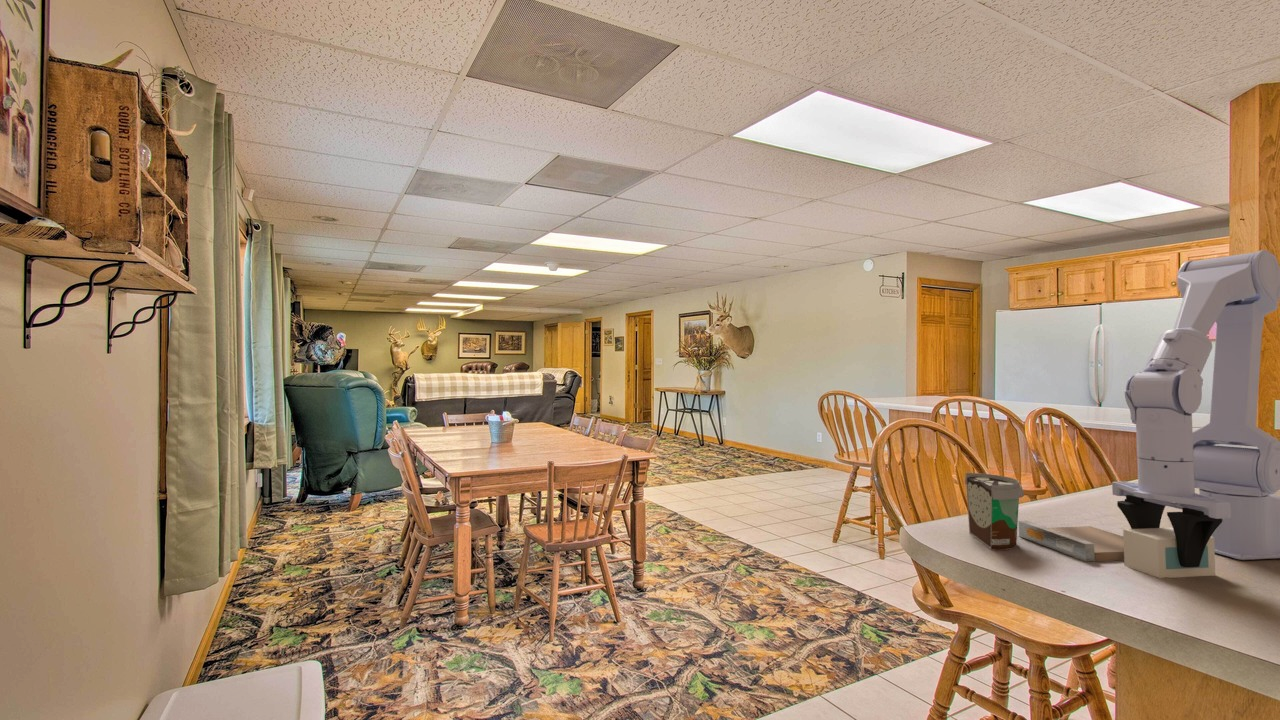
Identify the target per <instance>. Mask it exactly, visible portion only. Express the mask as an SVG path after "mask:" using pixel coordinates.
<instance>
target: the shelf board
mask: <svg viewBox="0 0 1280 720" xmlns="http://www.w3.org/2000/svg"><path fill="white" fill-rule="evenodd" d="M1049 528H1050V529H1053V530H1056V531H1059V532H1062V533H1065V534H1068V535H1070V536H1073V537H1076V538H1079V539H1082V540H1085V541H1088V542H1091V543H1094V553H1095V561H1094V562H1108V561H1124V538H1123V535H1120V534H1117V533H1113V532H1111V531H1110V532H1109V531H1107V530H1103V529H1100V528H1097V527H1093V526H1091V525H1086V526H1065V527H1064V526H1063V527H1062V526H1060V527H1059V526H1058V527H1049Z"/></svg>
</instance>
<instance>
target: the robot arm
mask: <svg viewBox="0 0 1280 720" xmlns="http://www.w3.org/2000/svg"><path fill="white" fill-rule="evenodd" d="M1176 286H1177V289H1178V291H1179V294H1180V296H1181V298H1182V301H1181V304H1180V308H1179V311H1178V313H1177V316H1176V320H1175V322H1174V327H1173V329H1168V330H1166V331H1164V332H1162V333H1161V334H1160V335H1159V337H1158V339H1157V341H1156V344H1155V346H1154V347H1153V349H1152V352H1151V353H1150V356H1149V358H1148V360H1147V362H1146V363H1145V366H1144V368H1143V370H1142V371H1139V372H1136V373H1135V374H1134V375H1131V376H1130V377H1129V379H1128V380H1127V382H1126V385H1125V386H1126V387H1125V391H1124V399H1125V402H1126V405H1127V406H1128V409H1129V411H1130V420H1131V423H1132V424H1134V425H1135V430H1136V431H1135V435H1136V457H1137V458H1136V460H1137V462H1136V463H1137V483H1135V482H1128V481H1112V482H1111V483H1112V484H1111V487H1112V488H1111V489H1112V495H1113V496H1116V497H1125V498H1124V500H1118V501H1117V503H1116V505H1117V507H1118V508H1119V510H1120V511H1121V512H1122V514H1123V516H1124V517H1125V520H1127V522H1128V525H1129V526H1130V529H1146V528H1161V520H1162V516H1163V514H1164V511H1165V508H1166V507H1169V508H1173V509H1177V510H1178V509H1179V510H1182V511H1167V512H1166V515H1167V517H1168V518H1167V519H1168V520H1169V522H1170V524H1171V528H1172V527H1173V529H1174V533H1175V537H1176V542H1177V553H1178V559H1179V563H1180V566H1183V567H1199V565H1200V562H1201V559H1202V556H1203V552H1204V550H1205V547H1206V545H1207V543H1208V541H1209V539H1210V537H1214V549H1215V554H1219V555H1222V556H1226V557H1229V558H1233V559H1235V560H1242V561H1245V560H1265V559H1266V560H1267V559H1268V560H1269V559H1280V496H1278V495H1277V494H1276V493H1277V492H1279V491H1280V440H1278V439H1277V438H1276V437H1275V436H1273V435H1272V434H1270V433H1267V432H1266V431H1264V430H1262V429H1261V428H1260V427H1258V426H1257V419H1258V417H1257V416H1258V401H1259V388H1260V387H1259V385H1260V370H1261V355H1262V354H1261V353H1262V352H1261V351H1262V340H1263V339H1262V337H1263V326H1264V321H1265V316H1266V315H1268V314H1270V313H1272V312H1274V311H1276V310H1278V308H1279V301H1280V265H1279V262H1278V259H1277V257H1276V256H1275V255H1274V254H1273V253H1272V252H1270V251H1269V250H1267V249H1261V250H1259V251H1258V250H1257V251H1255V252H1249V253H1248V252H1247V253H1240V254H1234V255H1227V256H1220V257H1212V258H1207V259H1200V260H1199V259H1198V260H1187V261H1185V262H1183V264H1181V266H1180V267H1179V269H1178V271H1177V275H1176ZM1215 323H1216V328H1215V330H1216V331H1215V343H1214V344H1215V345H1214V356H1213V357H1214V359H1213V373H1212V386H1211V400H1210V402H1211V403H1210V414H1209V415H1210V416H1209V422H1208V423H1207V424H1205V425H1203V426H1202V427H1200V428H1198V429H1196V430H1194V431H1193V414H1194V413H1196V412H1197V411H1198V409H1199V407H1200V405H1201V403H1202V399H1203V398H1202V396H1203V395H1202V394H1203V393H1202V392H1203V390H1202V387H1203V384H1204V383H1203V382H1204V379H1203V377H1202V376H1201V375H1202V373H1203V370H1204V368H1205V366H1206V363H1207V361H1208V359H1209V357H1210V354H1211V352H1212V349H1213V343H1212V340H1211V339H1210V338H1209V337H1208V334H1209V333H1210V331H1211V330H1212V328H1213V327H1214V324H1215ZM1224 445H1225V446H1224ZM1226 445H1228V446H1226ZM1237 446H1239V447H1237ZM1241 446H1242V447H1241ZM1250 447H1253V448H1250ZM1195 489H1198V490H1199V491H1198V493H1196V491H1195Z"/></svg>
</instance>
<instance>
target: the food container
mask: <svg viewBox="0 0 1280 720" xmlns="http://www.w3.org/2000/svg"><path fill="white" fill-rule="evenodd" d="M964 484H965V486H966V487H965V488H966V500H967V517H968V529H969V530H968V533H969V534H970V535H971V536H972V537H974V538H975V539H976V540H978V541H979V543H980V542H981V543H982V544H983V545H984V546H985V547H987V548H988V549H990V550H991V551H1004V550H1011V549H1014V548H1015V547H1017V544H1018V541H1017V540H1018V526H1019V521H1018V520H1019V504H1020V503H1019V501H1020V499H1021V498H1023V497H1024V496H1025V494H1024V490H1023V487H1022V484H1020V481H1019V480H1018V479H1016V478H1014V477H1009V476H1004V475H999V474H991V473H982V472H981V473H980V472H965V477H964Z"/></svg>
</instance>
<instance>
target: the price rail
mask: <svg viewBox="0 0 1280 720" xmlns="http://www.w3.org/2000/svg"><path fill="white" fill-rule="evenodd" d="M1050 528H1051V527H1046V526H1045V525H1040V524H1037V523H1035V522H1033V521H1029V520H1019V521H1018V536H1019V537H1020V538H1022V539H1026V540H1029V541H1031V542H1033V543H1035V544H1039V545H1041V546H1044V547H1047V548H1048V549H1052V550H1054V551H1057V552H1059V553H1062V554H1063V555H1064V554H1065V555H1066V556H1067V555H1068V556H1070V557H1073V558H1075V559H1078V560H1081V561H1083V562H1086V563H1087V562H1096V561H1095V553H1094V543H1091V542H1088V541H1085V540H1082V539H1079V538H1076V537H1073V536H1070V535H1068V534H1065V533H1062V532H1059V531H1056V530H1053V529H1050Z"/></svg>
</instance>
